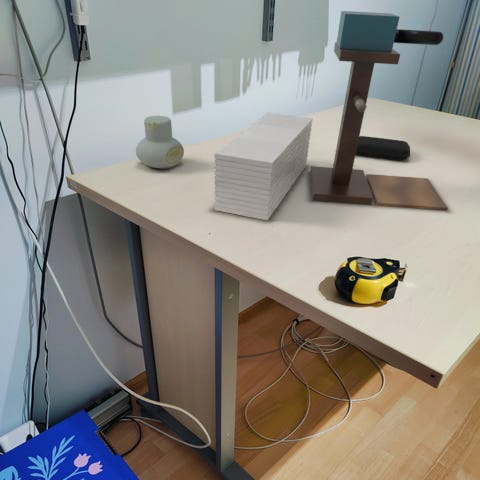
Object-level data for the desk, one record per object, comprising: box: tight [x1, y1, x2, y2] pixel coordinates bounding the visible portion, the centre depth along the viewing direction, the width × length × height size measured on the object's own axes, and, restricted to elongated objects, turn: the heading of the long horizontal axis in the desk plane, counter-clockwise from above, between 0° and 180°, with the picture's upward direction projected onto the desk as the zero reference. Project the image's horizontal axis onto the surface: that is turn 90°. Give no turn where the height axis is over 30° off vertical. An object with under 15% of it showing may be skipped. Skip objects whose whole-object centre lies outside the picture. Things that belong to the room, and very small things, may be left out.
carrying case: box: [356, 135, 411, 161], centre depth 111 cm, size 11×3×15 cm
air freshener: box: [135, 115, 185, 169], centre depth 96 cm, size 11×8×10 cm
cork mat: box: [365, 173, 448, 212], centre depth 92 cm, size 14×16×1 cm
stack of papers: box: [214, 112, 313, 221], centre depth 88 cm, size 32×11×11 cm, turn 160°
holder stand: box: [309, 41, 401, 206], centre depth 84 cm, size 12×18×26 cm, turn 175°
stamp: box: [336, 10, 444, 52], centre depth 74 cm, size 18×7×5 cm, turn 85°
